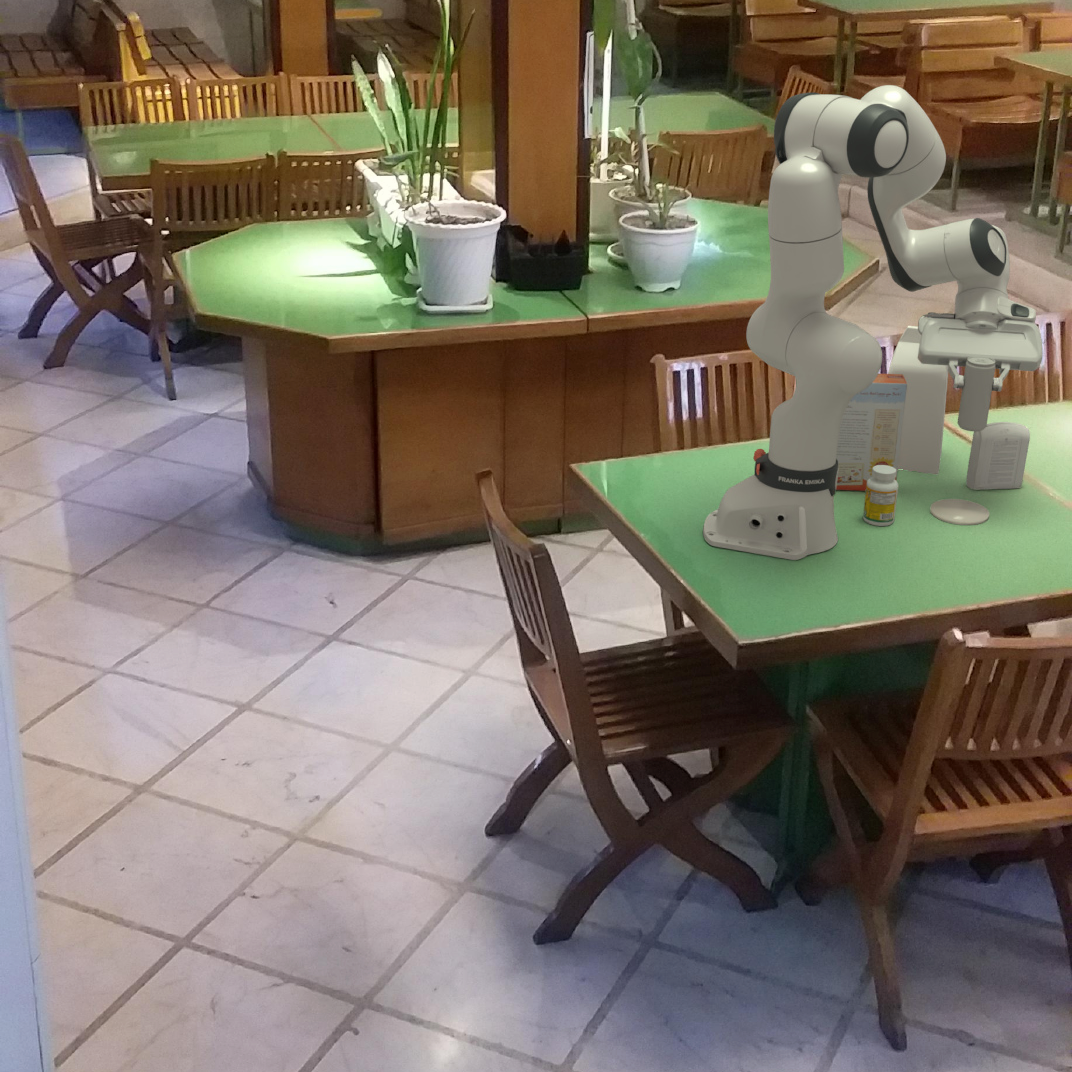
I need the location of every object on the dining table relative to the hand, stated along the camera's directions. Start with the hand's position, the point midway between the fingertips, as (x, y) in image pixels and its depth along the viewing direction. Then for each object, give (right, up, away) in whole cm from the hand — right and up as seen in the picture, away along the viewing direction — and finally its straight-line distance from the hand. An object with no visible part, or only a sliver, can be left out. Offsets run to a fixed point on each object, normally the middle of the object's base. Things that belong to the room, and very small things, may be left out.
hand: (977, 388), depth 245 cm
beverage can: (0, -6, +4) cm, 7 cm away
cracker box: (-16, -16, +22) cm, 31 cm away
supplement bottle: (-15, -22, +7) cm, 28 cm away
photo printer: (+9, -16, +22) cm, 29 cm away
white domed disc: (0, -21, +10) cm, 23 cm away
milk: (-3, -10, +33) cm, 35 cm away
